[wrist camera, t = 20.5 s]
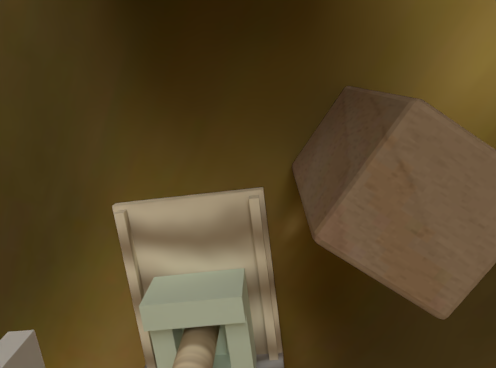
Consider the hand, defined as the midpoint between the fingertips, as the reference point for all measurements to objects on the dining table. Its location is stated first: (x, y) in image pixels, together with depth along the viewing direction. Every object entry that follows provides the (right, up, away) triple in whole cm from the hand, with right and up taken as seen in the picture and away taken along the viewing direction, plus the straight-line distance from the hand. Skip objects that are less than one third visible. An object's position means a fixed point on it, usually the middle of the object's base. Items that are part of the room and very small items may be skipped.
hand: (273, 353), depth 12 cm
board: (-6, -7, +36) cm, 37 cm away
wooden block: (+10, +8, +32) cm, 35 cm away
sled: (-5, -10, +36) cm, 38 cm away
